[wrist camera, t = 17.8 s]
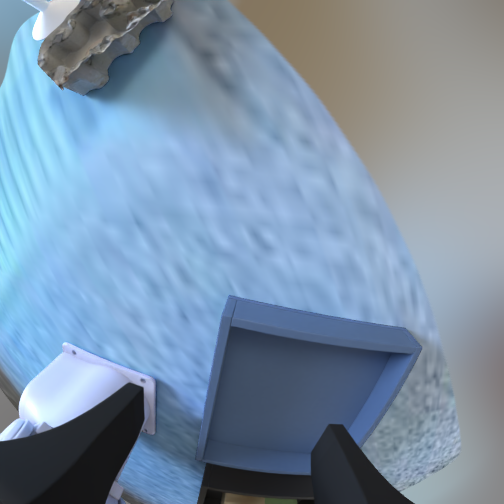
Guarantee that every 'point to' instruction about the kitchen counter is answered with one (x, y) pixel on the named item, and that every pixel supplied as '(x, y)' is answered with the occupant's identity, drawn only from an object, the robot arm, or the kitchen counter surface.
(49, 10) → the champagne flute
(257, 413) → the blue box
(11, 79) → the kitchen counter surface
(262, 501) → the cream cube
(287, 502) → the green cube
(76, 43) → the egg carton
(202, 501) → the black basket
